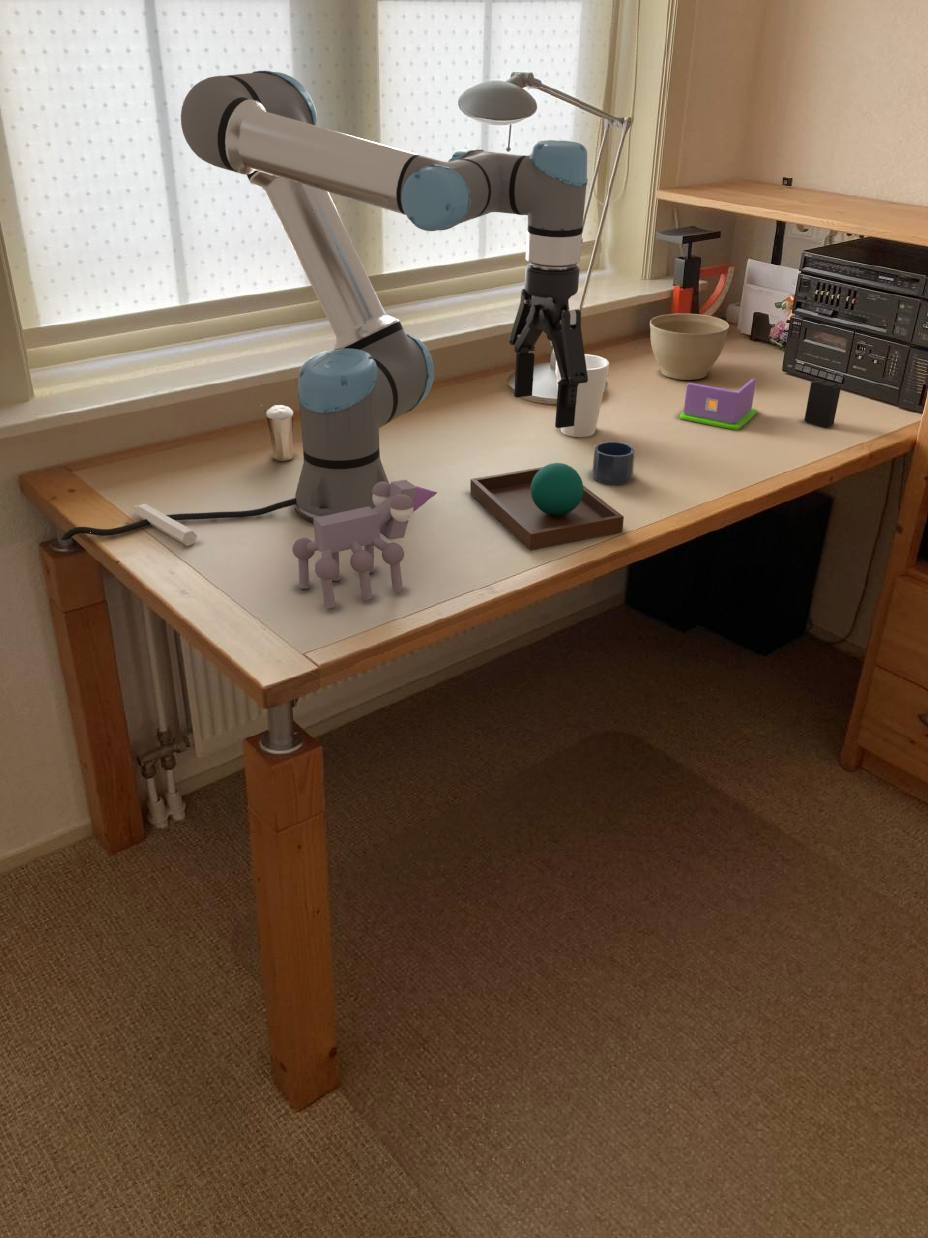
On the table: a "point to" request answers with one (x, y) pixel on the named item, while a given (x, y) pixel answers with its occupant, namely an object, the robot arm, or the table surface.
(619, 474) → the cup
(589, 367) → the foam cup
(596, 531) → the tray
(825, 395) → the ink cartridge
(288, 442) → the milkshake
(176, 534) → the marker
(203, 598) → the table surface
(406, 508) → the toy sheep
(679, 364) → the planter bowl
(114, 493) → the table surface
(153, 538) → the table surface
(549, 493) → the ball
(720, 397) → the toy room diorama
